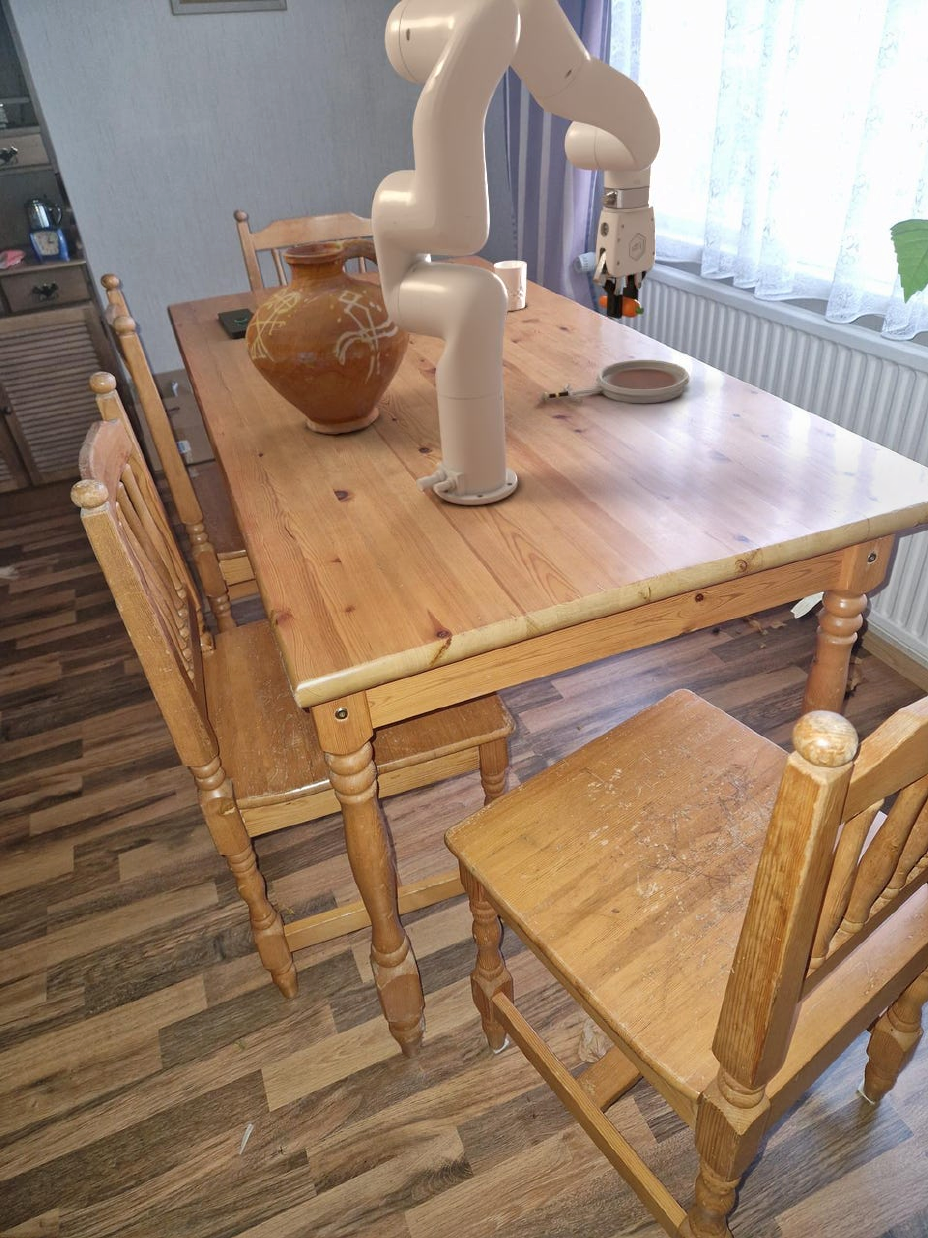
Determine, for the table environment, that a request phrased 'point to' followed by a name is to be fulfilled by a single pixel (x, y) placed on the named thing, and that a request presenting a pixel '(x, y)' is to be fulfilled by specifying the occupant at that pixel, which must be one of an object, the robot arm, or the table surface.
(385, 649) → the table surface
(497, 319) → the robot arm
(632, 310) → the carrot
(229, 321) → the smart home device
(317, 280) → the jug
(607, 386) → the frying pan
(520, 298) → the white cup
